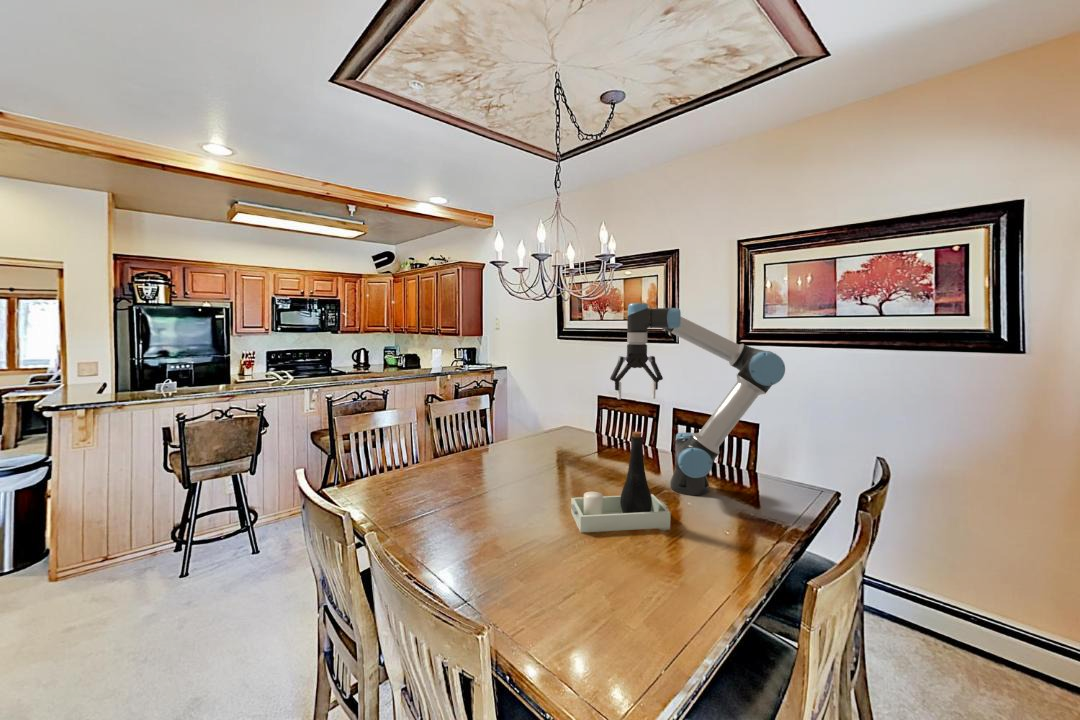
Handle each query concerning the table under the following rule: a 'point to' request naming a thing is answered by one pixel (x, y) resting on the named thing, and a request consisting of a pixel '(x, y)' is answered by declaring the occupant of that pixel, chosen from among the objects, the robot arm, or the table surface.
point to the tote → (620, 516)
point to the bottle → (636, 481)
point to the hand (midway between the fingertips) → (636, 398)
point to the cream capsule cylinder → (593, 503)
